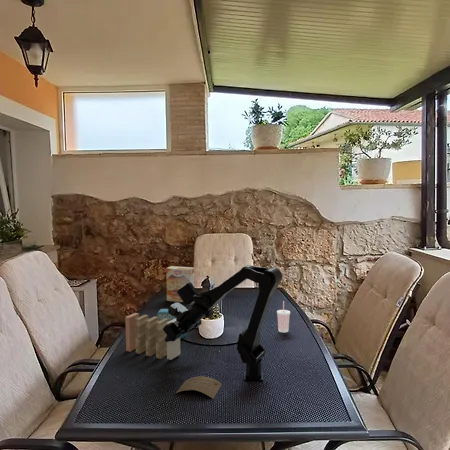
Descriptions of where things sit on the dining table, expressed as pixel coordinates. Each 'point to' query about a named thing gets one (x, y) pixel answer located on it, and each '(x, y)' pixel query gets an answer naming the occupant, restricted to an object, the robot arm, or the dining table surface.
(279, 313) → the beverage cup
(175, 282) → the coffeecake box
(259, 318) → the robot arm
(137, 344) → the domino
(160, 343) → the domino
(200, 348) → the dining table surface
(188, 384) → the curved brown sheet
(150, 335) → the domino
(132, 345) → the end domino
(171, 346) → the domino
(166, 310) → the data package
